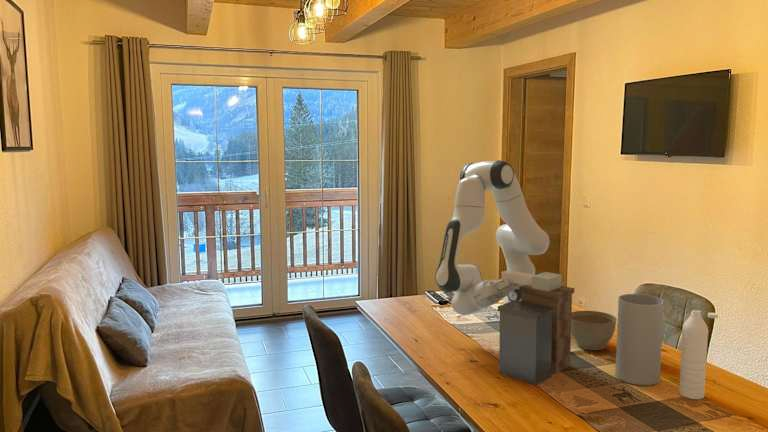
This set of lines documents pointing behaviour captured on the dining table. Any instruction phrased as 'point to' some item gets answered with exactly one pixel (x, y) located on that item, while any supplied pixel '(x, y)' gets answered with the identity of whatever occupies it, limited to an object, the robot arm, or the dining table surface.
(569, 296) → the tall stand
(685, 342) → the water bottle
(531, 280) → the mallet
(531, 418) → the dining table surface
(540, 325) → the dark grey box
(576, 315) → the planter bowl
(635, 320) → the cylinder vase
